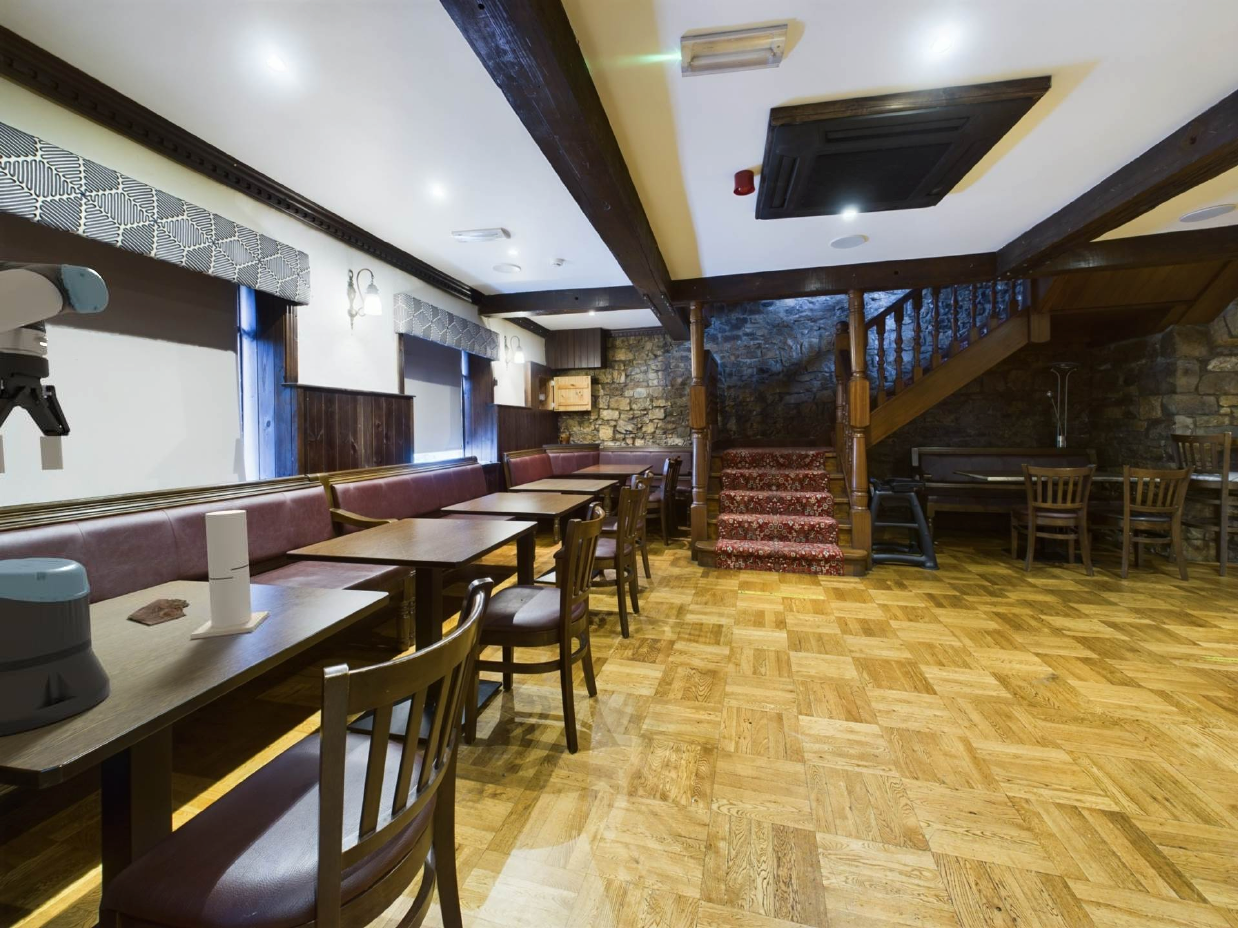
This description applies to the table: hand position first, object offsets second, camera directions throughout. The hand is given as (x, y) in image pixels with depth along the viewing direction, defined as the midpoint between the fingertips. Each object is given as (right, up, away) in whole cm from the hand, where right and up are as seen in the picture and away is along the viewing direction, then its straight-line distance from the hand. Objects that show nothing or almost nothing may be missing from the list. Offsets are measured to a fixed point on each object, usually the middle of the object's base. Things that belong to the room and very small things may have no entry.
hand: (24, 471), depth 90 cm
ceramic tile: (+21, -35, +22) cm, 47 cm away
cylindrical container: (+21, -35, +21) cm, 46 cm away
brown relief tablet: (-6, -36, +33) cm, 49 cm away
